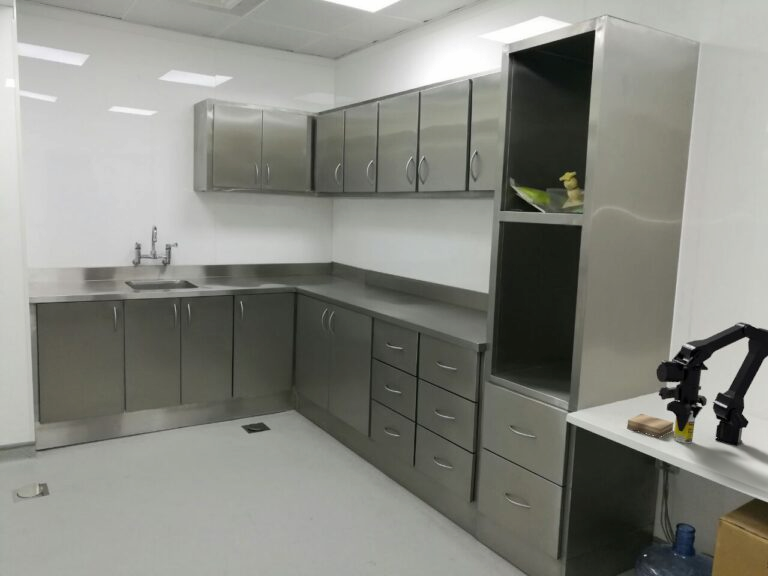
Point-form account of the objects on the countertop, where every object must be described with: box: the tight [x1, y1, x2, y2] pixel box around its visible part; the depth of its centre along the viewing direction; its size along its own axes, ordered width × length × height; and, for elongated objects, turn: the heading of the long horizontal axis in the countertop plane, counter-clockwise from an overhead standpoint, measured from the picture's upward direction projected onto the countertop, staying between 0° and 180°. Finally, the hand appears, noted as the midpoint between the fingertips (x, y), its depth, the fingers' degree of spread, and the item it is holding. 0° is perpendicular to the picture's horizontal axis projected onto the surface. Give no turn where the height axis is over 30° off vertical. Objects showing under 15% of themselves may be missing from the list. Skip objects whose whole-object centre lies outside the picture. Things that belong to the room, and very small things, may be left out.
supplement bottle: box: [673, 411, 696, 444], centre depth 205 cm, size 6×6×10 cm
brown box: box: [626, 413, 675, 438], centre depth 215 cm, size 11×11×3 cm
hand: (684, 429), depth 205 cm, fingers closed on supplement bottle, 6 cm apart
